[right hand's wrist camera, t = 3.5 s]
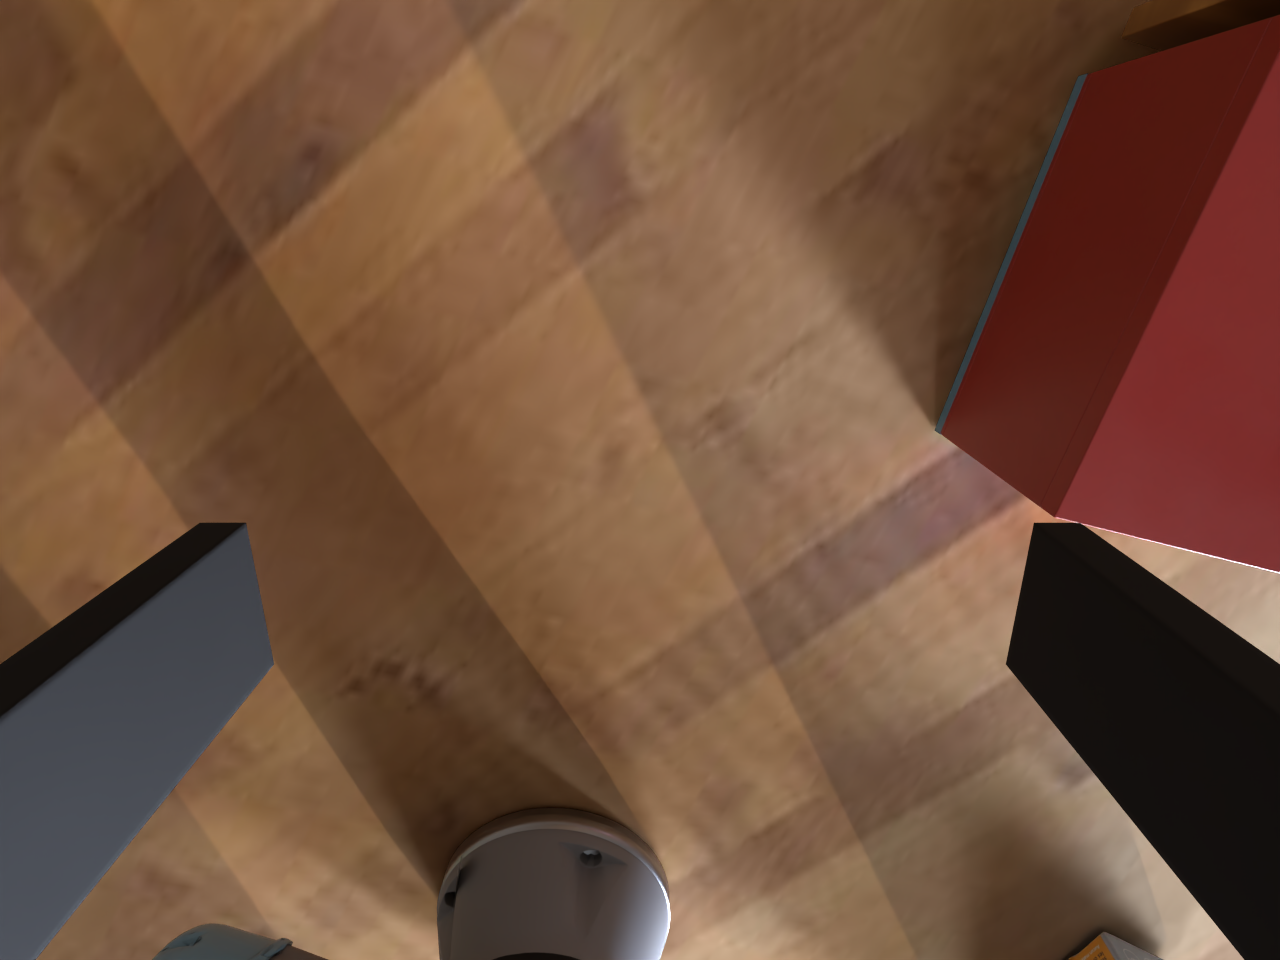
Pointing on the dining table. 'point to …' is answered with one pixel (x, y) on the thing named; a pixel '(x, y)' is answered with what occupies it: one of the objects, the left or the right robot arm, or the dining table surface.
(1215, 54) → the cabinet
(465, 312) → the dining table surface
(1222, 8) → the drawer
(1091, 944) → the hard drive box
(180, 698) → the right robot arm
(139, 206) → the dining table surface
